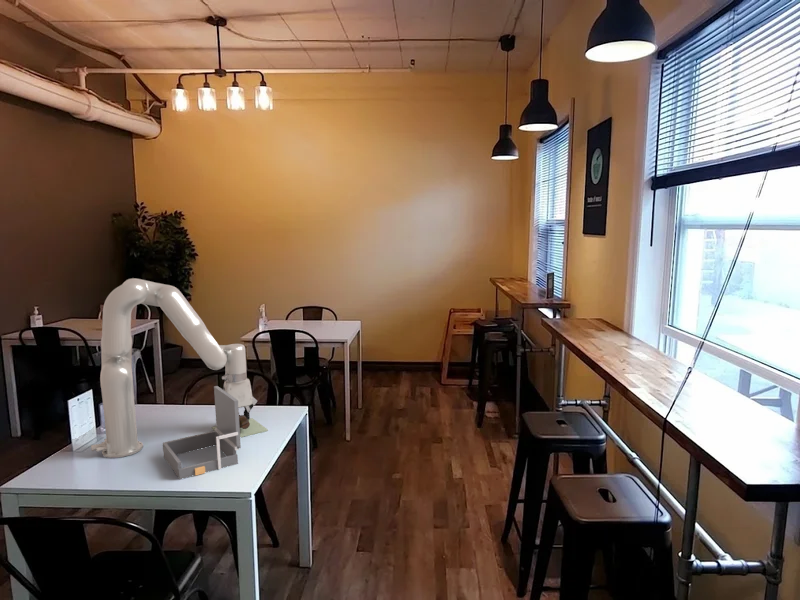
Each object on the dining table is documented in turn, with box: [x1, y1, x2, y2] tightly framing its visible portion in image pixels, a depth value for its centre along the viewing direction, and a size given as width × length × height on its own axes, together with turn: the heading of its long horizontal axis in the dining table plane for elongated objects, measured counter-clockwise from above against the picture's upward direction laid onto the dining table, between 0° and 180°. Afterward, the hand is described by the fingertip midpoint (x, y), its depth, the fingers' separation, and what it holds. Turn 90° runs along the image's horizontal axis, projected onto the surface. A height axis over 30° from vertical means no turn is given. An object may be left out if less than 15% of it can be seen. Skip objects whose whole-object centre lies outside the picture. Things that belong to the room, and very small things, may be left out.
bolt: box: [239, 414, 250, 429], centre depth 202 cm, size 6×5×15 cm
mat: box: [211, 417, 269, 438], centre depth 203 cm, size 16×16×1 cm
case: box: [162, 385, 242, 480], centre depth 175 cm, size 19×22×21 cm
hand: (238, 423), depth 202 cm, fingers open, 5 cm apart
